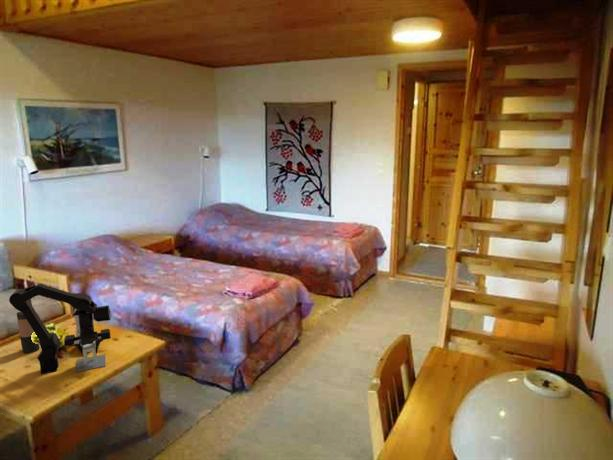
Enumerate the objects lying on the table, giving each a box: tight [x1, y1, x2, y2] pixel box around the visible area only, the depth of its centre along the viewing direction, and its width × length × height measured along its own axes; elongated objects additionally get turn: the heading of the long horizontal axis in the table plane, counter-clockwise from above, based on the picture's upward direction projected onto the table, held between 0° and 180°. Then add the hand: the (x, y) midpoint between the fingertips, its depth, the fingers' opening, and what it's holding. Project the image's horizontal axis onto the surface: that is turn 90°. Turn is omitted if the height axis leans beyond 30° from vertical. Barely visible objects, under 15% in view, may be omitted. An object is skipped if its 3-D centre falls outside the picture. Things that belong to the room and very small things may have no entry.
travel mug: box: [16, 311, 41, 354], centre depth 216 cm, size 8×8×20 cm
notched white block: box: [82, 341, 98, 364], centre depth 204 cm, size 7×5×7 cm
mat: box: [75, 353, 107, 373], centre depth 205 cm, size 12×12×1 cm
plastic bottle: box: [73, 308, 80, 337], centre depth 227 cm, size 6×7×20 cm
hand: (90, 354), depth 204 cm, fingers closed on notched white block, 5 cm apart
